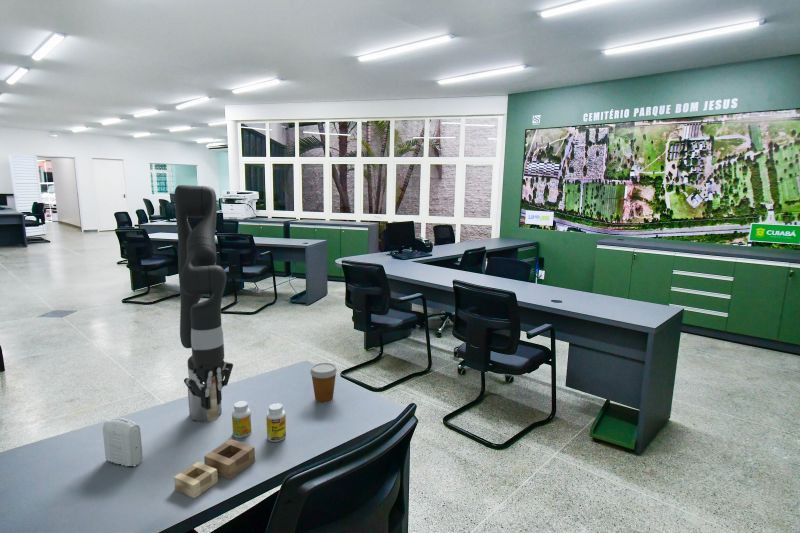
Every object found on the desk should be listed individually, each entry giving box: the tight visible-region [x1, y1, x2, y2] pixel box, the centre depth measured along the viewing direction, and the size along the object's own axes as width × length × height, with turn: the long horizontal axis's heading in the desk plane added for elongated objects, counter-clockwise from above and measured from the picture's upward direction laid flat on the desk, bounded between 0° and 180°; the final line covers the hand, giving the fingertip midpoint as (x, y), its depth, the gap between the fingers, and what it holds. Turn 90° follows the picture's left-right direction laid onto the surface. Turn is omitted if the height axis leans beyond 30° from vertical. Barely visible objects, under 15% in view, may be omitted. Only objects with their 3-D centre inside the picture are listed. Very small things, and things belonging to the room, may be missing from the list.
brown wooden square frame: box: [203, 438, 256, 480], centre depth 118 cm, size 9×9×4 cm
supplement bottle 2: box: [265, 402, 287, 443], centre depth 131 cm, size 6×6×10 cm
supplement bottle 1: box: [231, 400, 252, 439], centre depth 133 cm, size 5×5×10 cm
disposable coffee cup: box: [309, 362, 338, 404], centre depth 156 cm, size 10×10×12 cm
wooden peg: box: [205, 376, 219, 422], centre depth 114 cm, size 3×3×12 cm
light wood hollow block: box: [173, 461, 219, 499], centre depth 110 cm, size 7×7×4 cm
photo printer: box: [102, 417, 143, 467], centre depth 119 cm, size 10×4×12 cm, turn 72°
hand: (211, 405), depth 114 cm, fingers closed on wooden peg, 2 cm apart
